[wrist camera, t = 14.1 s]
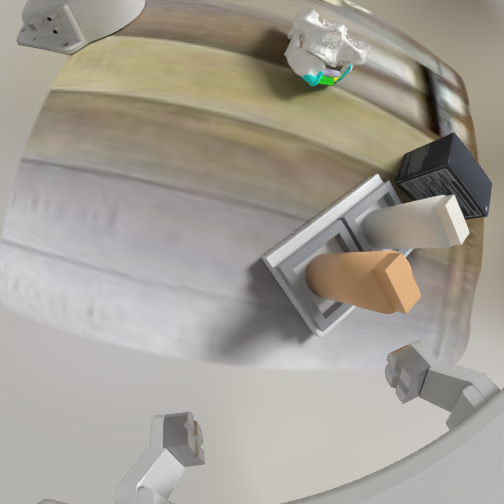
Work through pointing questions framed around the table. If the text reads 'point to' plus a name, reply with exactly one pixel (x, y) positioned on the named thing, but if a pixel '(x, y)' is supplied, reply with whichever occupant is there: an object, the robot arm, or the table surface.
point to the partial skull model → (321, 49)
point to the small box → (446, 175)
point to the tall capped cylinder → (364, 280)
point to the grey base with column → (361, 241)
